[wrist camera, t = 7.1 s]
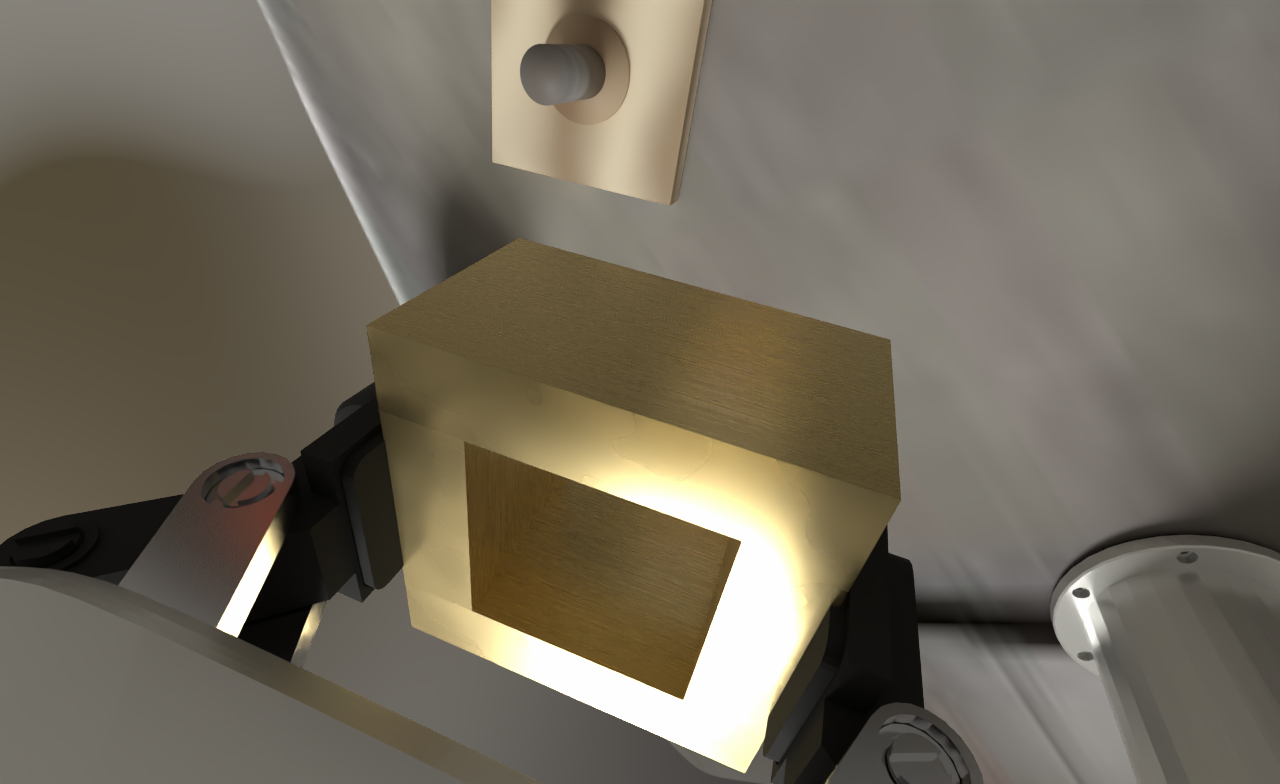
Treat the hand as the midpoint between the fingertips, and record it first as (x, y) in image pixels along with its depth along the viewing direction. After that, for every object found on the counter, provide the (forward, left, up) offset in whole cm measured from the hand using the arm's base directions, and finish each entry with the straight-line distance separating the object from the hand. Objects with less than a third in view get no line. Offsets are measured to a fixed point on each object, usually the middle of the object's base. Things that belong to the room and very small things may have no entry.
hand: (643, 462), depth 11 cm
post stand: (+12, -4, -23) cm, 26 cm away
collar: (0, 0, -1) cm, 1 cm away
